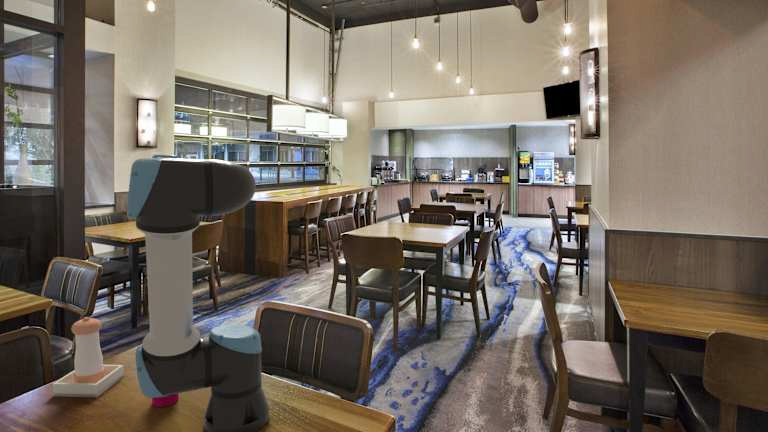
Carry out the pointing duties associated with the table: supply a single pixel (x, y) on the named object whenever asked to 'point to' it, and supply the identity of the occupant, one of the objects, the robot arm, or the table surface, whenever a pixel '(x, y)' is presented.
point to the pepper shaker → (88, 351)
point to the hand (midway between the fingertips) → (170, 276)
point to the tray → (71, 389)
